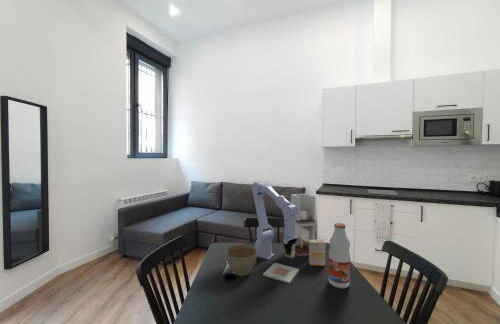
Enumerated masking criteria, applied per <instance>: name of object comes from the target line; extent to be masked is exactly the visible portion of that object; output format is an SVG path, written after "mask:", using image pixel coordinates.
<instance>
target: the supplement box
mask: <svg viewBox="0 0 500 324" xmlns="http://www.w3.org/2000/svg"><path fill="white" fill-rule="evenodd" d="M308 262H309V266H315V267H317V266H319V267H325V266H326V241H325V240H324V239H320V238H319V239H309V255H308Z"/></svg>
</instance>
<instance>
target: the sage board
mask: <svg viewBox="0 0 500 324" xmlns="http://www.w3.org/2000/svg"><path fill="white" fill-rule="evenodd" d="M299 272H300V269H299V268H296V267H292V266H288V265H285V264H282V263H276V262H274V263H272V264H271V266H269V268H267V269H266V270H265V272H263V273H262V276H263V277H266V278H270V279H272V280H277V281H281V282H283V283H287V284H291V282H292V281H293V280H294V278H295V277H296V276H297V274H298V273H299Z"/></svg>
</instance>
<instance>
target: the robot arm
mask: <svg viewBox="0 0 500 324" xmlns="http://www.w3.org/2000/svg"><path fill="white" fill-rule="evenodd" d="M251 192H252V195H253V200H254V206H255V211H256V216H257V221H258V226H257V228H256V239H257V240H256V241H255V243H254V248H255V249H256V250H257V256H256V258H257V257H258V258H260V259H264V260H270V259H271V258H272V257H273V256H275V253H273V252H272V251H273V249H272V246H273V245H272V243H273V239H274V238H275V230H274V229H273V226H272V225H270V223H269V222H268V216H267V213H266V206H265V202H264V196H265V195H266V194H267V195H268V196H269V197H270V198H272V199H273V200H274V203H275V205H276V206H277V207H278V208H280V209H281V212H282V215H283V219H284V234H283V240H282V241H281V242H282V245H283V247H284V251H286V254H287V255H290V254H291V248H292V245H293V244H295V243H296V241H297V238H298V236H296V232H295V228H296V214H297V213H298V208H297V206H296V205H295V204H292V203H291V201H289V200H287V198H286V197H285V196H284V195H279V194H278V192H276V190H275V189H274V188H273V186H272V184H271V183H270V182H269V181H267V180H265V181H258V182H257V181H256V182H253V184H252V186H251Z"/></svg>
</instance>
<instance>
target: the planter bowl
mask: <svg viewBox="0 0 500 324" xmlns="http://www.w3.org/2000/svg"><path fill="white" fill-rule="evenodd" d="M256 256H257V250H256V249H255V246H251V245H248V244H236V245H232V246H229V247H228V248H227V249H226V250H225V257H226V262H227V264H228V267H229V268H230V270H231V269H232V270H233V271H234V272H235V273H236V274H237V275H236V276H239V277H244V276H247V275H249V274H250V273H251V271H252V269H253V268H254V266H255V264H256V262H257V261H256V260H257V257H256ZM232 270H231V271H232Z"/></svg>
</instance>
